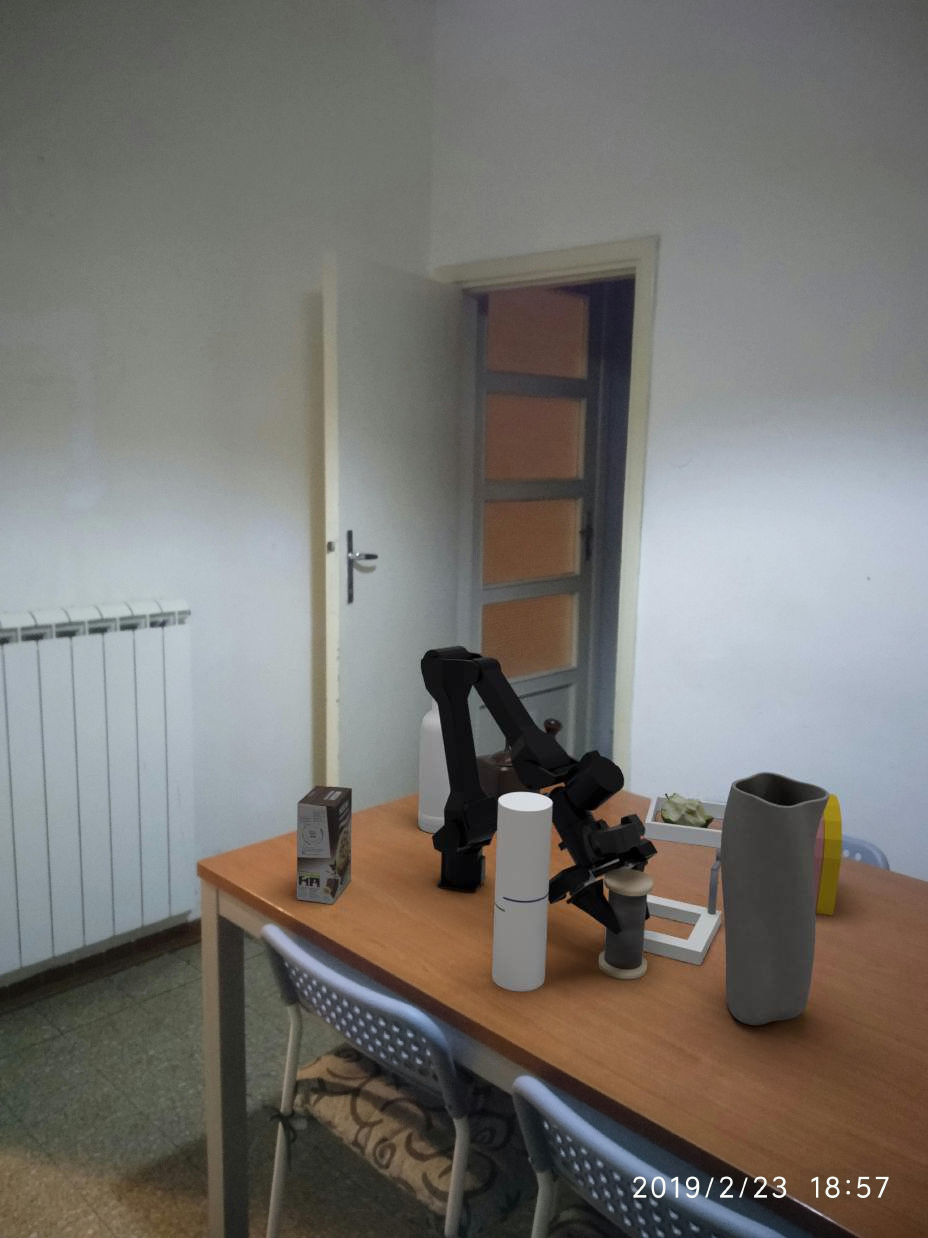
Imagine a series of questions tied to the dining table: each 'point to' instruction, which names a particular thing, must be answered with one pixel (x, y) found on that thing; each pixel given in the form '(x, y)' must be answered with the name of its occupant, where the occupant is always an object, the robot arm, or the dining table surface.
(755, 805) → the vase
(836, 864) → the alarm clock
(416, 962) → the dining table surface
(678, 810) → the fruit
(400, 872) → the dining table surface
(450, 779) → the robot arm
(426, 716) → the bottle
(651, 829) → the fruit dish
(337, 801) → the coffee box
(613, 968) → the disc
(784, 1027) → the dining table surface
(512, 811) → the cylindrical container
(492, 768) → the coffee grinder
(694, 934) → the rectangular frame
